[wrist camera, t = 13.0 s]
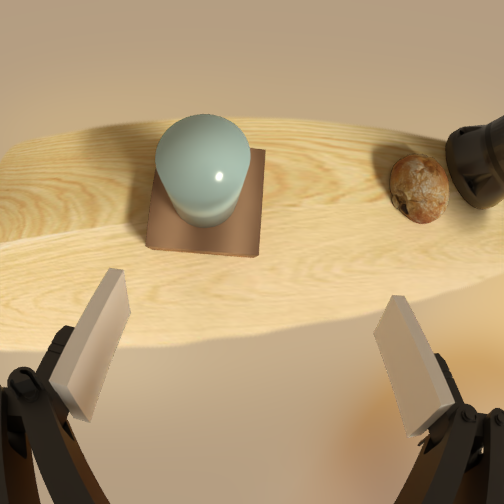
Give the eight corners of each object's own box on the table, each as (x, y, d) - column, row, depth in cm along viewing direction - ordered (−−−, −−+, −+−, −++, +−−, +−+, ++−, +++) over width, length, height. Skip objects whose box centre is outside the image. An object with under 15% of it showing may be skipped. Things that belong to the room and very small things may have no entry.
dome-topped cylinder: (240, 168, 33) (254, 119, 22) (234, 231, 32) (246, 205, 21) (177, 162, 32) (164, 111, 21) (168, 224, 31) (147, 195, 21)
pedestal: (259, 162, 38) (265, 149, 34) (253, 257, 37) (258, 255, 33) (164, 154, 36) (160, 141, 32) (152, 249, 35) (145, 246, 31)
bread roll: (370, 185, 44) (382, 186, 36) (412, 141, 41) (431, 135, 33) (410, 231, 44) (428, 241, 36) (450, 187, 41) (473, 190, 33)
